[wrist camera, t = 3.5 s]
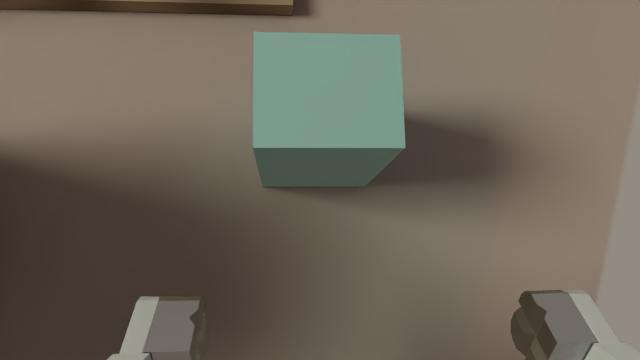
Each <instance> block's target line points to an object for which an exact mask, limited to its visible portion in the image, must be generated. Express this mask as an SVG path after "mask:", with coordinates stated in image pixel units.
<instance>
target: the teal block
mask: <svg viewBox="0 0 640 360" xmlns="http://www.w3.org/2000/svg"><path fill="white" fill-rule="evenodd" d="M404 149H405V127H404V107H403V86H402V65H401V45H400V35H381V34H331V33H281V32H254V59H253V150H254V154H255V158H256V162H257V166H258V170H259V173H260V177H261V181H262V185H263V187H365V186H366V185H367V184H368V183H369V182H370V181H371V180H372V179H373V178H375V177H376V176H377V175H378V174H379V173H380V172H381V171H382V170H383V169H384V168H385V167H386V166H387V165H388V164H389V163H390V162H391V161H392V160H393V159H394V158H396V157H397V156H398V155H399V154H400V153H401V152H402V151H403V150H404Z"/></svg>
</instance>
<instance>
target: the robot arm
mask: <svg viewBox="0 0 640 360" xmlns="http://www.w3.org/2000/svg"><path fill="white" fill-rule="evenodd" d="M519 303H520V305H521V307H520V308H519V309H518V310H516V311H515V312H514V313H513V316H512V319H511V334H512V339H513V341H514V344H515V346H516V349H518V350H519V351H520V352H521V353H522V354H524V355H525V356H526V358H525V360H640V352H639V351H638V350H636V349H635V348H633V347H632V346H631V345H629V344H628V343H620V341H619V340H618V338H617V337H616V335H615V334H614V332H613V331H612V329H611V328H610V326H609V325H608V323H607V322H606V320H605V319H604V317H603V316H602V314H601V313H600V311H599V310H598V308H597V307H596V305H595V303H594V302H593V300H592V299H591V297H590V296H589V294H588V293H587V292H585V291H584V290H542V291H525V292H523V293H522V294H521V296H520V298H519ZM204 308H205V304H204V299H203V297H189V296H141V297H140V298H139V299H138V301H137V302H136V305H135V308H134V311H133V314H132V317H131V320H130V323H129V326H128V329H127V332H126V335H125V338H124V341H123V344H122V347H121V350H120V353H119V354H112V355H111V356H110V357H109V358H108V359H107V360H202V359H203V358H204V357H205V356H206V350H207V342H208V323H207V318H206V317H205V316H204V315H203V314H204Z"/></svg>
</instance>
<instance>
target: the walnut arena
mask: <svg viewBox="0 0 640 360" xmlns="http://www.w3.org/2000/svg"><path fill="white" fill-rule="evenodd" d="M0 9H36V10H80V11H124V12H167V13H211V14H255V15H293V0H0Z"/></svg>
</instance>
